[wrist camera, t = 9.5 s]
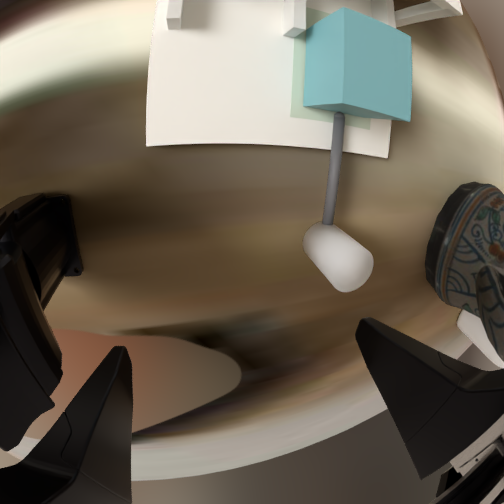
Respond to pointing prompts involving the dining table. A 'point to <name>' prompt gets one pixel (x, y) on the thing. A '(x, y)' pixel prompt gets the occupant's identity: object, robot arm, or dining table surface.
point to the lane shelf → (254, 73)
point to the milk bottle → (478, 335)
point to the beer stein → (471, 256)
